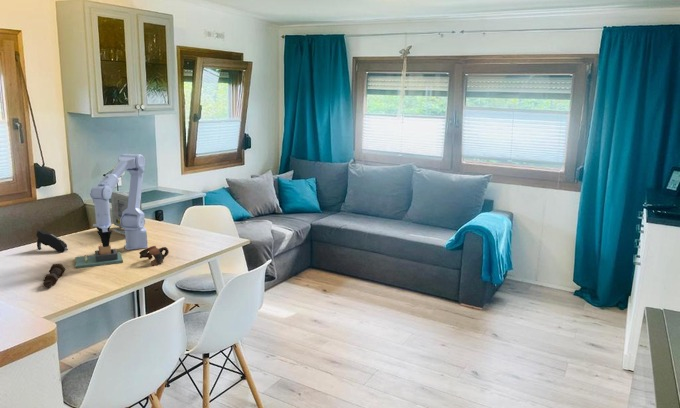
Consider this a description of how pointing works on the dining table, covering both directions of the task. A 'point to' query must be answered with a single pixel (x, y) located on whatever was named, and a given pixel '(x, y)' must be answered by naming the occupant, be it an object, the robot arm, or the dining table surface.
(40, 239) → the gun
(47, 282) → the bolt
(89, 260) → the header board
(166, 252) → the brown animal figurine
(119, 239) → the dining table surface
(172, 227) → the dining table surface
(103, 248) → the plug
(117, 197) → the network device
